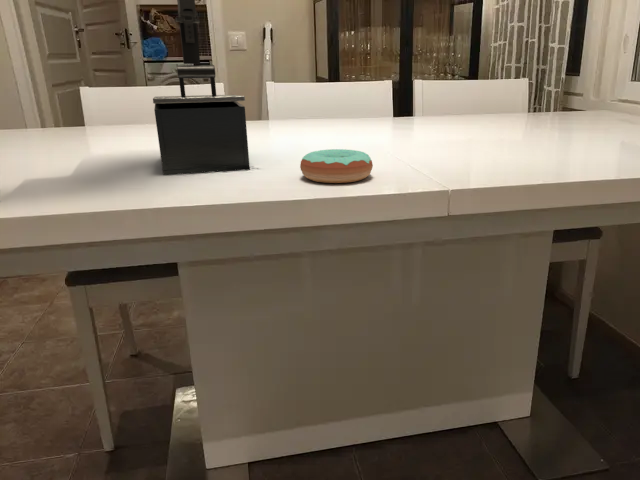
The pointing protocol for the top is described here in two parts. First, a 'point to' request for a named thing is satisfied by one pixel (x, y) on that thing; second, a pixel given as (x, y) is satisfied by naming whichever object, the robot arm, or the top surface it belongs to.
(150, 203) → the top surface
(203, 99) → the bin lid
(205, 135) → the trash bin
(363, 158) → the donut
